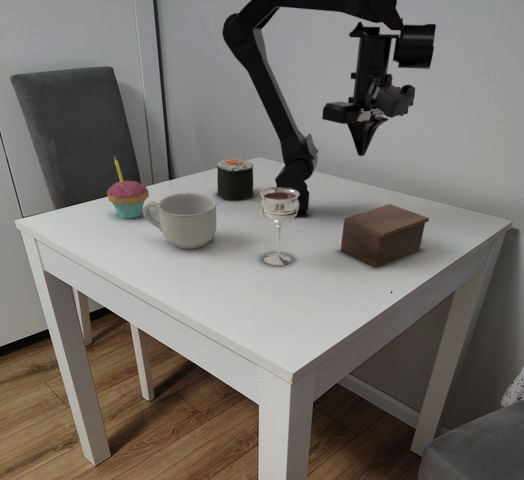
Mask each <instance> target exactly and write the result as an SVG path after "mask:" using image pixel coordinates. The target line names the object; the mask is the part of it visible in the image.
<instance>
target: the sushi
mask: <svg viewBox="0 0 524 480" xmlns="http://www.w3.org/2000/svg"><path fill="white" fill-rule="evenodd" d="M217 163H218V165H217V169H216V170H217V195H218V196H219V197H220V198H221V199H223V200H226V201H233V202H235V201H241V200H246V199H251V198H252V197H253V196H254V166H255V165H254V164H253V163H252V162H250V161H248V160H244V159H239V158H232V157H230V158H229V159H222V160H221V161H218V162H217Z"/></svg>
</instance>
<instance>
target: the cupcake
mask: <svg viewBox="0 0 524 480" xmlns="http://www.w3.org/2000/svg"><path fill="white" fill-rule="evenodd" d="M113 158H114V164H115V168H116V171H117V175H118V178H119V181H116V182H115V183H113V184H112V185H111V186H110V187H109V188H108V189H107V190H106V195H107V198H108V201H109V202H111V204H112V205H113V207H114V208H115V209H116V212H117V214H118V216H119V217H120V218H122V219H136V218H139V217H141V216H142V214H143V207H144V205H145V201H146V200H147V199H148V198H149V197H150V193H149V190H148V187H146V186H145V185H143V184H142V183H141V182H138V181H136V180H132V179H131V180H124V178H123V174H122V171H121V167H120V164H119V161H118V159H117V158H116V156H115V155H114V156H113Z"/></svg>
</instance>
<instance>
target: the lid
mask: <svg viewBox="0 0 524 480" xmlns="http://www.w3.org/2000/svg"><path fill="white" fill-rule="evenodd" d="M429 220H430V218H429V217H428V216H424V215H422V214H419V213H416V212H413V211H410V210H409V209H405V208H402V207H399V206H396V205H394V204H391V203H389V204H385V205H382V206H378V207H375V208H372V209H369V210H366V211H365V210H364V211H362V212H359V213H356V214H352V215H349V216H345V217H343V223H344V222H347V223H349V224H352V225H354V226H357V227H359V228H361V229H364V230H366V231H369V232H371V233H373V234H376V235H378V236H381V237H386V236H389V235H391V234H394V233H397V232H400V231H403V230H406V229H408V228H411V227H414V226H417V225H420V224H423V223H425V224H426V223H429Z"/></svg>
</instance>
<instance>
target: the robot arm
mask: <svg viewBox="0 0 524 480" xmlns="http://www.w3.org/2000/svg"><path fill="white" fill-rule="evenodd" d="M397 5H398V0H250V1H248V3H246V4H245V5H244V6H243V8H242V9H241V10H240V11H239V12H234V13H231V14H230V15H228V16H227V17H226V18H225V21H224V22H223V26H222V30H221V33H222V34H221V35H222V38H223V41H224V42H225V44H226V46H227V47H228V49H229V50H230V52H231V54H232V55H233V56H234V58H235V59H236V60H237V61H238V62H239V63H240V64H241V66H242V67H243V68H244V69H245V70H246V72H247V73H248V75H249V78H250V79H251V80H250V81H251V82H252V84H253V86H254V89H255V91H256V92H257V95H258V98H259V99H260V101H261V103H262V105H263V108H264V109H265V112H266V114H267V116H268V119H269V120H270V122H271V125H272V126H273V129H274V131H275V133H276V136H277V138H278V140H279V143H280V149H281V150H280V151H281V156H282V160H283V163H284V166H283V167H282V168H281V170H280V171H279V173H278V174H277V175H276V177H275V179H274V182H275V185H276V186H275V187H284V188H291V189H294V190H296V191H298V192H299V193H300V194H299V196H298V198H297V200H298V201H299V210H298V213H297V215H296V216H295V217H306V216H308V210H309V206H310V205H309V203H310V191H309V189H308V184H307V182H305V181H307V180H309V179H310V178H311V176H313V174H314V171H315V170H316V168H317V165H318V162H319V158H318V154H319V151H320V150H319V149H318V148H317V147H316V146H315V144H314V140H313V136H312V134H311V133H308V134H307V135H306V136H305V135H304V134H303V133H302V131H300V129H299V128H298V126H297V123H296V121H295V119H294V116H293V114H292V112H291V110H290V107H289V105H288V104H287V101H286V98H285V97H284V96H285V95H284V94H283V92H282V90H281V88H280V85H279V83H278V81H277V78H276V77H275V74H274V72H273V69H272V67H271V65H270V63H269V61H268V57H267V51H266V44H265V39H264V35H263V31H262V30H263V29H264V28H265V26H266V25H268V23H270V21H271V20H272V18H274V16H275V15H276V13H278V11H279V10H280V9H281V8H287V9H289V8H290V9H301V10H313V11H323V12H324V11H325V12H334V13H335V12H337V13H342V14H345V15H349V16H352V17H354V18H358V19H360V21H358V22H357V24H356V26H355V27H354V28H353V30H352V31H350V32H349V33H348V36H349V38H359V41H358V48H357V49H358V50H357V57H356V60H357V61H356V66H355V67H356V68H355V71H354V72H351V73H350V79H351V80H354V84H353V85H354V87H353V93H352V94H353V95H352V96H348V97H347V98H348V99H347V102H345V101H344V102H343V101H340V100H339V101H333V102H332V101H331V102H326V103H325V105H324V106H323V107H322V117H321V119H322V120H323V121H329V122H333V123H337V124H340V125H347V128H348V130H349V132H350V135H351V139H352V141H353V144H354V147H355V150H356V153H357V156H360V157H363V156H365V155H366V153H367V150H368V148H369V146H370V145H371V142H372V140H373V137H374V135H375V133H376V131H377V130H378V128H379V127H380V126H381V125H382V124H384V123H385V122H388V121H389V118H391V119H393V118H395V117H398V116H400V117H404V115H408V113H409V108H410V107H413V106H414V103H415V102H414V101H415V95H416V87H415V86H414V85H412V84H403V85H402V86H401V87H400V86H395V85H393V76H392V75H393V74H392V73H388V71H389V70H388V69H389V62H390V54H391V49H392V43H393V42H392V41H393V39H395V41H394V48H393V49H394V50H393V57H392V62H395V63H397V64H398V65H397V69H415V70H417V69H418V70H419V69H421V70H430V68H431V66H432V65H431V64H432V61H433V56H434V51H435V46H434V42H435V37H436V36H435V35H436V30H437V29H436V28H437V25H436V24H435V23H426V24H404V17H401V16H400V14H399V12H398V9H397ZM361 20H364V21H367V22H371V23H374V24H381V23H382V24H384V25H385V26H386V27H387V28H388V29H389V30H390V31H400V32H399V34H398V33H395V34H394V33H381V26H364V24H363V22H362V21H361Z"/></svg>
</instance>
